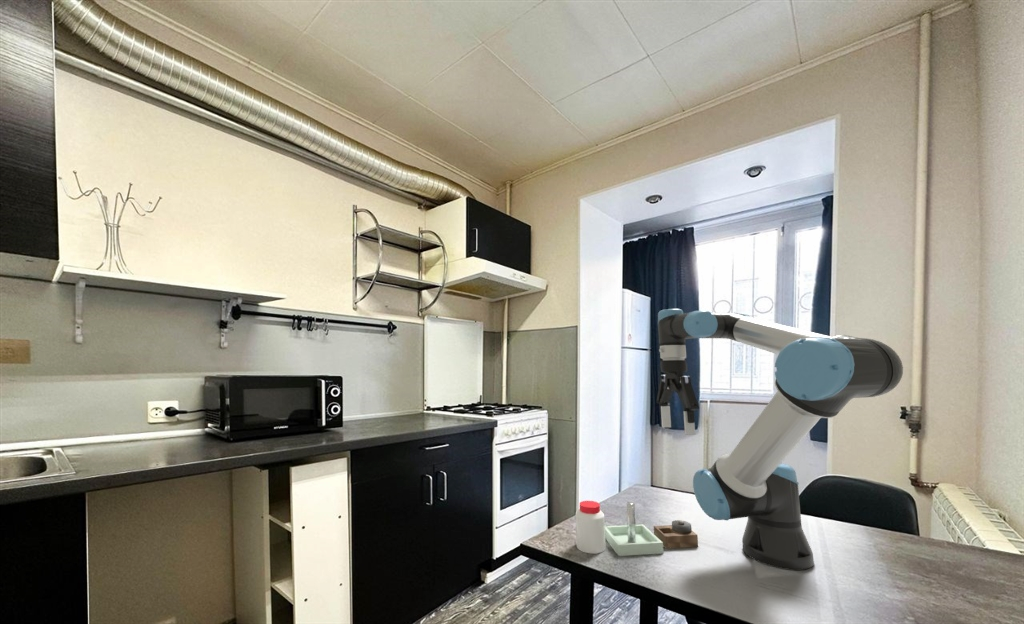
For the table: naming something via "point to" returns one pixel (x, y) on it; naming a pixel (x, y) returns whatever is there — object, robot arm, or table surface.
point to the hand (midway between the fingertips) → (677, 430)
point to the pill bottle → (590, 528)
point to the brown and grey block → (676, 535)
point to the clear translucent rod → (631, 522)
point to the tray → (643, 545)
